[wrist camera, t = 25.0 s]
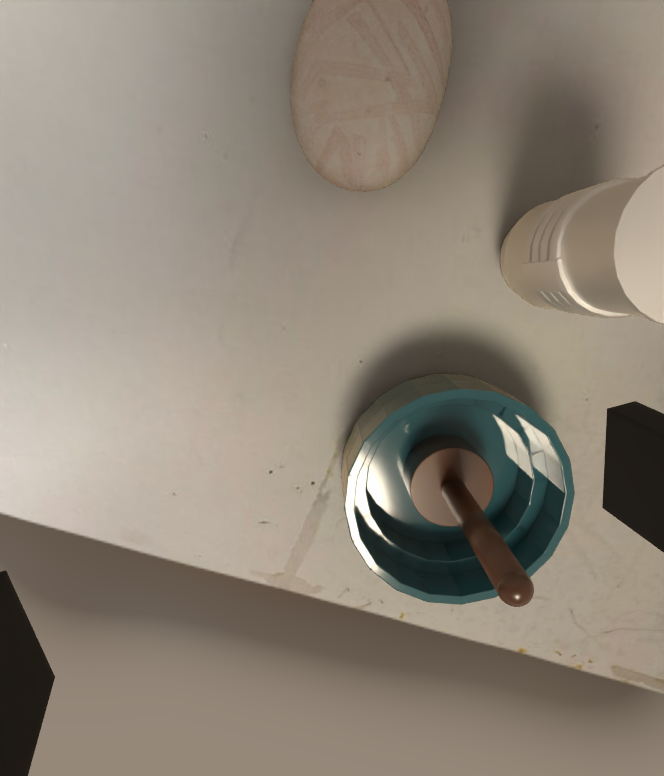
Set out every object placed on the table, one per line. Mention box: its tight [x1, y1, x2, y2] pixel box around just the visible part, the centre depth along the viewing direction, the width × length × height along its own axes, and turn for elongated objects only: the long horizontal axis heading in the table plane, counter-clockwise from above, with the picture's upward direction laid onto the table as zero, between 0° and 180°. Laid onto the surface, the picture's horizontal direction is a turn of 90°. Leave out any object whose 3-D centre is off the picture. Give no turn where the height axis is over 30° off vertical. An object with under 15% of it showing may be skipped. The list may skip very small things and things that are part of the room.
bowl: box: [341, 373, 575, 604], centre depth 36 cm, size 14×14×6 cm
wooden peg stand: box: [403, 435, 534, 607], centre depth 31 cm, size 6×6×15 cm
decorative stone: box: [291, 0, 452, 192], centre depth 31 cm, size 13×9×5 cm
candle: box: [500, 165, 664, 324], centre depth 29 cm, size 7×7×15 cm
